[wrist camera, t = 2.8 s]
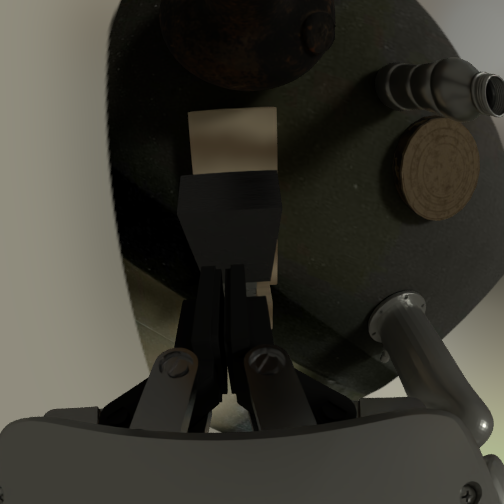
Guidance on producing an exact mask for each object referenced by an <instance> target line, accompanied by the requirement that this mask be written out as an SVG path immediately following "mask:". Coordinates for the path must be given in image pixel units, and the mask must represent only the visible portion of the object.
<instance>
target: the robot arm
mask: <svg viewBox="0 0 504 504" xmlns="http://www.w3.org/2000/svg"><path fill="white" fill-rule="evenodd" d="M425 311H426V303H425V300H424V299H423V297H422V296H421V295H420V294H419V293H417V292H415V291H402V292H398V293H396V294H393V295H391V296H390V297H388V298H386V299H385V300H384V301H382V302H381V303H380V304H379V305H378V306H377V307H376V308H375V310H374V311H373V313H372V314H371V316H370V318H369V321H368V331H369V334H370V336H371V337H372V338H373V339H374V340H375V341H377V342H381V343H382V344H383V350H384V351H383V352H382V355H381V357H380V360H381V361H382V362H384V363H385V362H388V360H389V358H390V359H391V361H392V363H393V365H394V367H395V369H396V371H397V374H398V376H399V378H400V380H401V382H402V384H403V387H404V389H405V392H406V394H407V396H408V397H396V398H395V397H394V398H360V399H359V401H351V400H350V399H349V398H347V397H346V396H344V395H342V394H340V393H338V392H337V391H335V390H333V389H331V388H329V387H327V386H325V385H324V384H322V383H320V382H318V381H316V380H314V379H313V378H311V377H309V376H307V375H306V374H304V373H302V372H300V371H298V370H297V369H295V368H294V366H293V364H292V361H291V359H290V356H289V355H288V353H287V352H286V351H285V350H284V349H283V348H281V347H279V346H277V345H274V343H273V336H272V330H271V323H270V317H269V310H268V304H267V298H266V296H251V297H247V295H246V281H245V267H244V264H235V265H231V268H229V269H225V297H224V290H223V281H222V271H221V269H216V266H202V267H201V273H200V279H199V286H198V293H197V299H192V300H183V303H182V308H181V313H180V319H179V324H178V329H177V335H176V341H175V346H174V348H172V349H168V350H166V351H164V352H162V353H161V354H160V355H159V356H158V357H157V359H156V360H155V363H154V365H153V367H152V370H151V373H150V375H149V377H148V378H147V379H145V380H144V381H143V382H141V383H139V384H138V385H136V386H135V387H133V388H132V389H130V390H129V391H127V392H126V393H124V394H123V395H121V396H120V397H118V398H117V399H115V400H114V401H112V402H110V403H109V404H108V405H106V406H105V407H104V408H103V409H99V408H98V407H85V408H68V409H67V408H66V409H53V410H50V411H48V412H47V413H46V414H45V415H44V417H30V418H23V419H19V420H16V421H14V422H11V423H9V424H8V425H7V426H6V427H5V428H4V429H3V430H2V432H1V433H0V504H504V465H503V463H502V461H501V460H500V459H499V458H498V457H497V456H496V455H493V454H489V455H486V456H482V453H481V451H480V449H479V448H480V447H481V446H482V445H483V444H484V443H485V442H486V441H487V440H488V438H489V437H490V435H491V433H492V431H493V426H494V423H493V417H492V415H491V412H490V411H489V409H488V407H487V406H486V405H485V403H484V402H483V401H482V400H481V398H480V397H479V396H478V395H477V393H476V392H475V391H474V390H473V388H472V387H471V385H470V384H469V383H468V381H467V380H466V378H465V377H464V375H463V373H462V372H461V370H460V369H459V367H458V365H457V364H456V363H455V361H454V359H453V357H452V356H451V354H450V353H449V351H448V349H447V348H446V346H445V345H444V343H443V341H442V340H441V338H440V337H439V335H438V334H437V332H436V331H435V329H434V328H433V326H432V324H431V323H430V322H429V320H428V319H427V317H426V316H425ZM227 366H228V372H229V379H230V385H231V391H232V394H236V396H237V403H238V404H239V405H241V406H242V407H244V408H245V409H246V410H248V415H249V419H250V423H251V426H252V430H253V432H232V433H208V432H209V427H210V422H211V417H212V409H214V408H215V407H216V406H217V405H218V404H219V402H222V394H227V393H228V384H227Z"/></svg>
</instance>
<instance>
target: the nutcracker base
mask: <svg viewBox="0 0 504 504" xmlns="http://www.w3.org/2000/svg"><path fill="white" fill-rule="evenodd" d="M188 120H189V133H190V146H191V157H192V168H193V175H194V174H207V173H221V172H238V171H260V170H277V113H276V107H247V108H227V109H213V110H201V111H192V112H188ZM275 284H277V245H276V251H275V257H274V263H273V270H272V276H271V281H266V282H257V289H256V296H266V298H267V304H268V310H269V317H270V323H271V329H272V310H273V303H272V297H271V290H270V285H275Z"/></svg>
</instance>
